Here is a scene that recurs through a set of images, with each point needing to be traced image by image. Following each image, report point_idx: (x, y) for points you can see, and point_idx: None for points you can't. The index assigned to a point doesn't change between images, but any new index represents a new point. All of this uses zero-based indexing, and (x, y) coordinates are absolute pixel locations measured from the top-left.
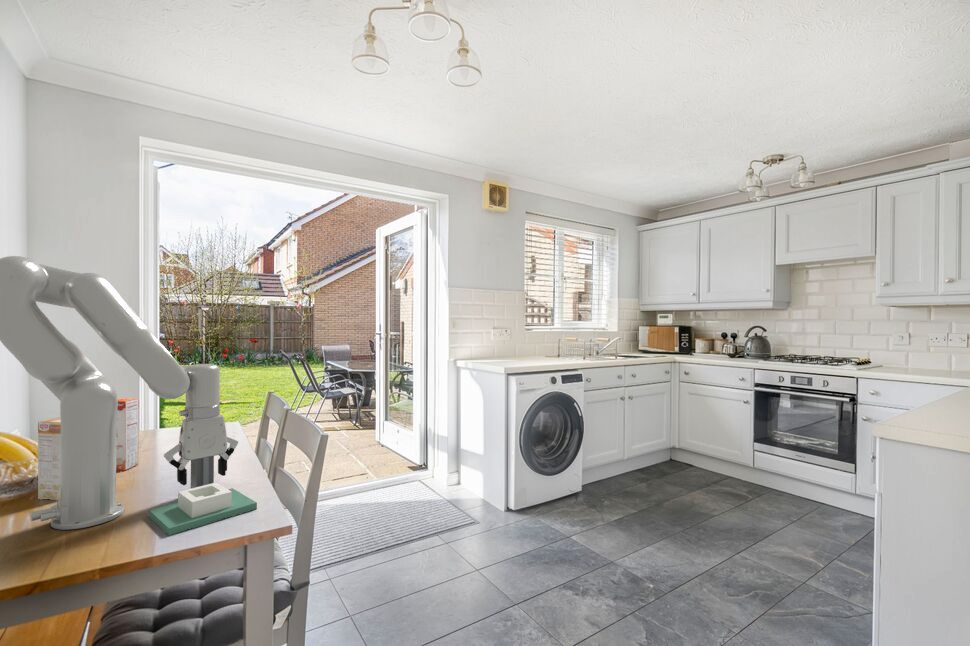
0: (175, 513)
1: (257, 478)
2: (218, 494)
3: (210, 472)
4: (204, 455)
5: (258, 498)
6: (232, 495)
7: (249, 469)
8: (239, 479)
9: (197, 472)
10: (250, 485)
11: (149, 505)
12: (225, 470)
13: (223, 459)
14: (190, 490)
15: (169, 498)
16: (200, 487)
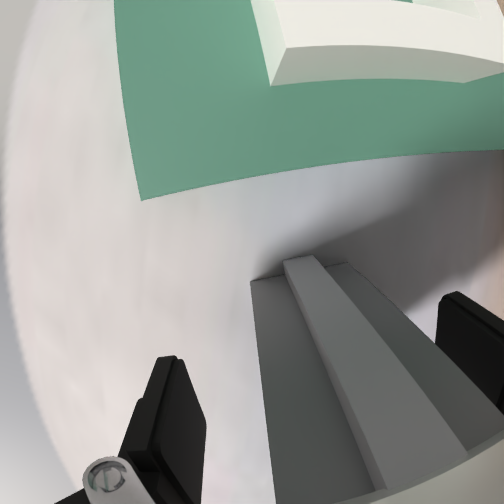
0: None
1: (35, 366)
2: None
3: (291, 358)
4: (490, 473)
5: (61, 46)
6: (173, 44)
7: (84, 471)
8: (108, 407)
9: (422, 340)
10: (55, 288)
11: (495, 284)
12: (149, 379)
13: (146, 477)
14: (469, 24)
15: (433, 330)
16: (417, 21)
